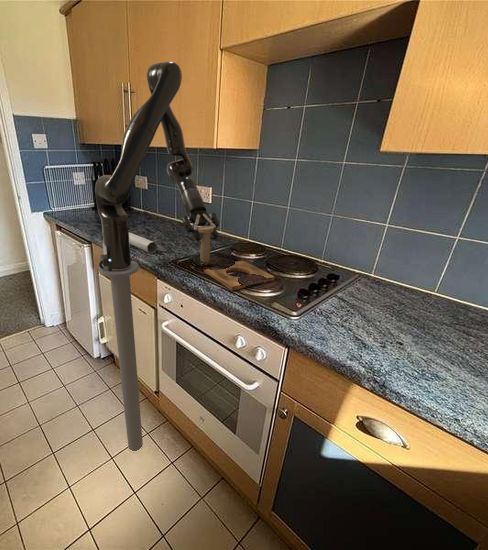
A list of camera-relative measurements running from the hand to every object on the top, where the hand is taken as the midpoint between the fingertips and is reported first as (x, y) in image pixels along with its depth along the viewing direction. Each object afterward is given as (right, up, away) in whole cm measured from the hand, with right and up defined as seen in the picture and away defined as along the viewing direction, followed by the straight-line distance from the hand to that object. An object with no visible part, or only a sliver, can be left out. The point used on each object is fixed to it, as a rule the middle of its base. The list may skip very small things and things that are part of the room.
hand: (207, 239), depth 113 cm
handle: (-1, -10, +6) cm, 11 cm away
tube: (-31, 0, +26) cm, 41 cm away
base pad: (+11, -14, -4) cm, 18 cm away
